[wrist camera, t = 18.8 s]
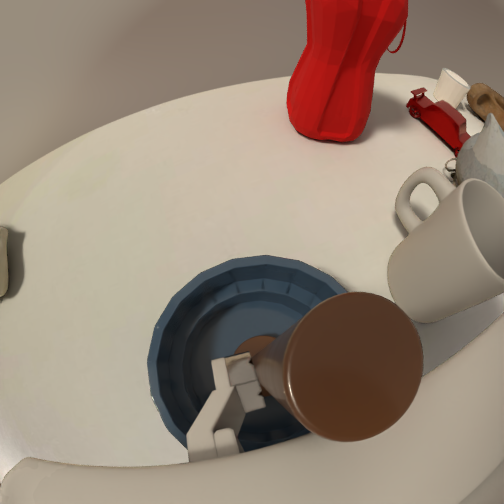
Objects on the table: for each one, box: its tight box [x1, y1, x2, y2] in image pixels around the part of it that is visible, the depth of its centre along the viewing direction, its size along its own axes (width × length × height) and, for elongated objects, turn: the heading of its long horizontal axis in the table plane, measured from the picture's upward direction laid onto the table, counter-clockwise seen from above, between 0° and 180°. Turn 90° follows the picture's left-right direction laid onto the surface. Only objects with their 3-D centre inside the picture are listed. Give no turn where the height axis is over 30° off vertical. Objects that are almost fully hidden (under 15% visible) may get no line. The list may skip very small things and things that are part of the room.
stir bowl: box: [147, 255, 348, 452], centre depth 17 cm, size 13×13×6 cm
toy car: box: [406, 87, 471, 158], centre depth 31 cm, size 14×6×5 cm, turn 37°
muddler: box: [234, 292, 423, 442], centre depth 11 cm, size 4×4×17 cm
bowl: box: [467, 83, 504, 132], centre depth 35 cm, size 18×14×10 cm
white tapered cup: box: [433, 68, 471, 108], centre depth 35 cm, size 7×7×7 cm
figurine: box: [445, 113, 504, 198], centre depth 20 cm, size 10×9×15 cm
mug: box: [387, 167, 504, 323], centre depth 18 cm, size 12×8×11 cm
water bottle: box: [287, 0, 408, 142], centre depth 19 cm, size 9×11×25 cm
